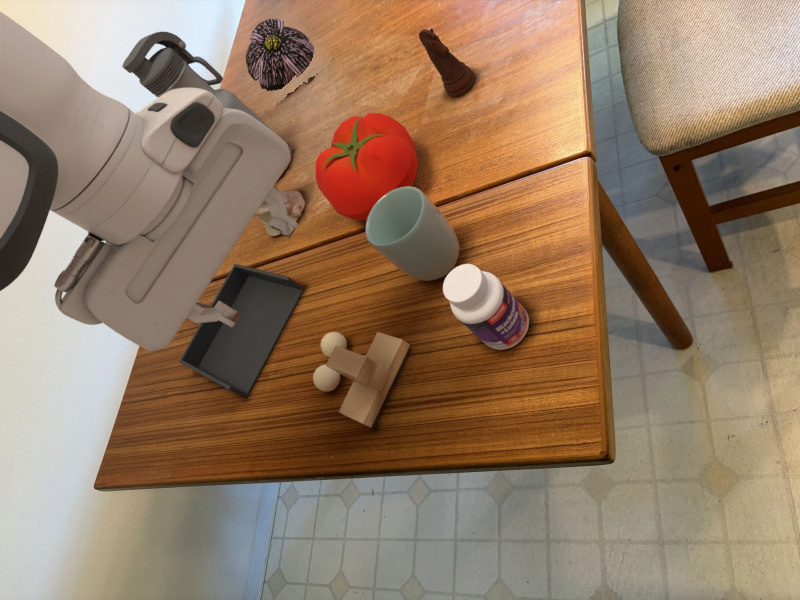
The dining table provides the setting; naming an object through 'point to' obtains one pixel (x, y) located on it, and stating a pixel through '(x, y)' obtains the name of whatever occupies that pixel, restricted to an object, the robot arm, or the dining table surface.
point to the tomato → (365, 163)
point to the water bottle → (177, 71)
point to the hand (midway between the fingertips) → (263, 274)
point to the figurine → (292, 205)
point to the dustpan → (243, 328)
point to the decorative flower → (277, 54)
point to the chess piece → (447, 65)
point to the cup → (413, 234)
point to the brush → (370, 376)
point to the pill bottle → (485, 306)
